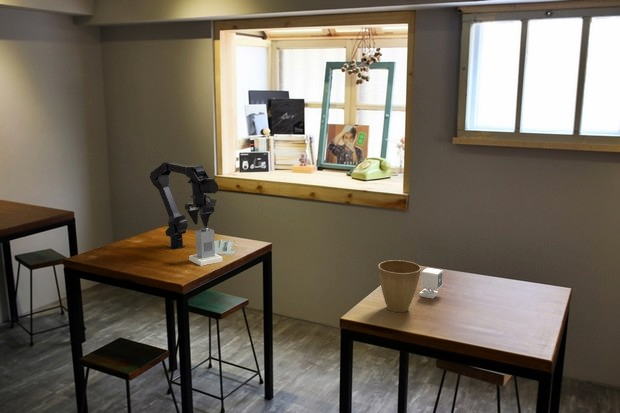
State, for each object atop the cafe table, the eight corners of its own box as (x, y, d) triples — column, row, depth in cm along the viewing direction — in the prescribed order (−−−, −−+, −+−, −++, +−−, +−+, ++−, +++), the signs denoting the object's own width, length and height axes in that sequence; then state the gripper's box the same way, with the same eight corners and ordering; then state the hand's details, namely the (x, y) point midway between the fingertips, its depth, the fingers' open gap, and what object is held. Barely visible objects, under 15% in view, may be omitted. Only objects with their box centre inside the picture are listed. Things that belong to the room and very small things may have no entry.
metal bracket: (205, 236, 298) (236, 236, 298) (206, 246, 301) (237, 246, 301) (201, 252, 285) (233, 252, 285) (202, 262, 288) (234, 262, 288)
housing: (196, 256, 277) (195, 228, 274) (209, 253, 281) (208, 226, 278) (202, 258, 273) (201, 230, 270) (215, 256, 277) (214, 228, 274)
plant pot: (370, 311, 217) (371, 268, 214) (387, 298, 230) (389, 257, 226) (409, 320, 210) (411, 275, 206) (425, 306, 222) (427, 264, 219)
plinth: (189, 260, 278) (189, 255, 278) (210, 255, 285) (210, 251, 284) (201, 265, 270) (200, 261, 269) (222, 261, 276) (222, 256, 276)
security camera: (436, 299, 229) (437, 274, 227) (418, 296, 233) (419, 271, 231) (442, 294, 234) (443, 269, 232) (424, 291, 238) (425, 266, 236)
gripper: (223, 192, 283) (226, 225, 285) (203, 189, 297) (206, 220, 300) (202, 195, 276) (204, 229, 279) (182, 192, 290) (185, 224, 293)
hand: (200, 225), depth 288 cm, fingers open, 9 cm apart
